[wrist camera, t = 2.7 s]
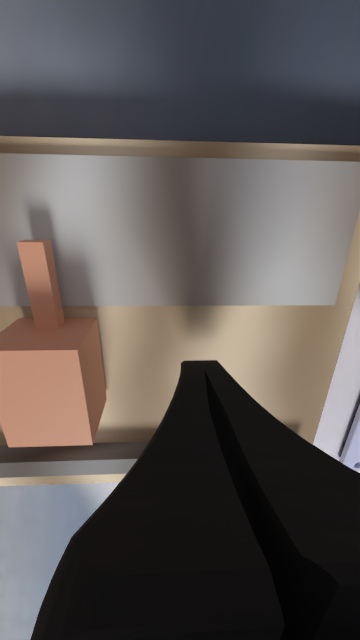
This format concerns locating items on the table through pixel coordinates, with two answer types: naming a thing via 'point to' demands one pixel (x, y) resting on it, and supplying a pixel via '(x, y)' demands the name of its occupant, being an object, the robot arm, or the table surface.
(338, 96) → the table surface
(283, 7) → the table surface
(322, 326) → the plate
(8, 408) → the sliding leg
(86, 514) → the table surface
